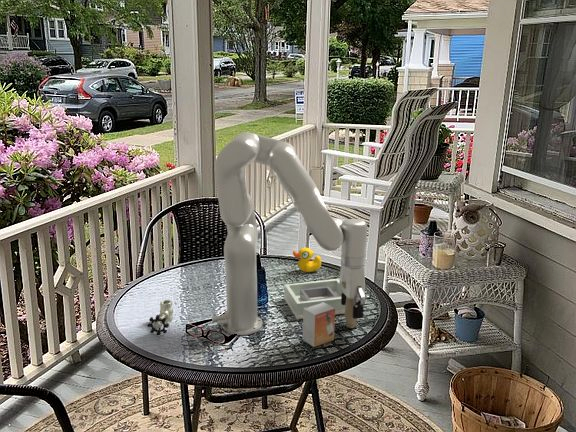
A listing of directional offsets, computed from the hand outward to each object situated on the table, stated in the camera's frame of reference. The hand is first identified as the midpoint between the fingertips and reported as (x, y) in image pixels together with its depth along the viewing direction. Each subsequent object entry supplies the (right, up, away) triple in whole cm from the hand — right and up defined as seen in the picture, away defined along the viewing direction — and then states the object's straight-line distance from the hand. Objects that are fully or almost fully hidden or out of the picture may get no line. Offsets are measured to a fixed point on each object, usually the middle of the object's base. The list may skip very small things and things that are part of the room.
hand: (351, 310), depth 166 cm
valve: (-59, -5, +1) cm, 59 cm away
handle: (0, -5, +2) cm, 6 cm away
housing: (-10, -1, +16) cm, 19 cm away
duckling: (-12, +7, +46) cm, 48 cm away
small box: (-11, -8, -7) cm, 15 cm away
